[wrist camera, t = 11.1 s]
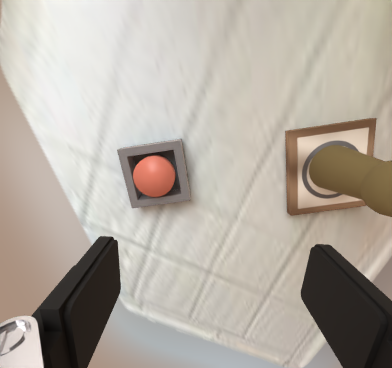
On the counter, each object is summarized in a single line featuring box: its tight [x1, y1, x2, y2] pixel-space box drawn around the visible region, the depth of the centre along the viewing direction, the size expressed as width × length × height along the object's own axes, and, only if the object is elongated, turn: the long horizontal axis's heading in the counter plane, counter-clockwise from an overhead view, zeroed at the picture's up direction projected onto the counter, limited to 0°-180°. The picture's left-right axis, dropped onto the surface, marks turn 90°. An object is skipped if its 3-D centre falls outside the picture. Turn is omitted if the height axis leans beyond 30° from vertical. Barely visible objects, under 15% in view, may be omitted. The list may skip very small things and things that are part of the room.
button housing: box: [117, 139, 190, 208], centre depth 28 cm, size 8×8×2 cm
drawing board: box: [285, 118, 376, 215], centre depth 29 cm, size 12×11×2 cm
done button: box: [133, 155, 176, 197], centre depth 27 cm, size 5×5×2 cm
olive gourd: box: [309, 145, 392, 217], centre depth 22 cm, size 6×6×11 cm
